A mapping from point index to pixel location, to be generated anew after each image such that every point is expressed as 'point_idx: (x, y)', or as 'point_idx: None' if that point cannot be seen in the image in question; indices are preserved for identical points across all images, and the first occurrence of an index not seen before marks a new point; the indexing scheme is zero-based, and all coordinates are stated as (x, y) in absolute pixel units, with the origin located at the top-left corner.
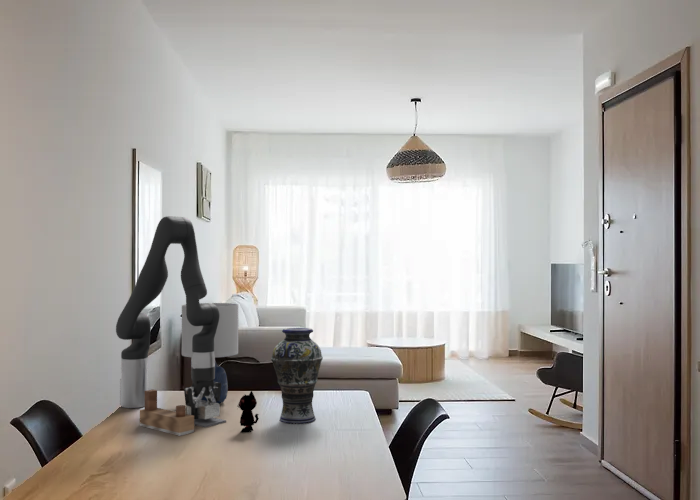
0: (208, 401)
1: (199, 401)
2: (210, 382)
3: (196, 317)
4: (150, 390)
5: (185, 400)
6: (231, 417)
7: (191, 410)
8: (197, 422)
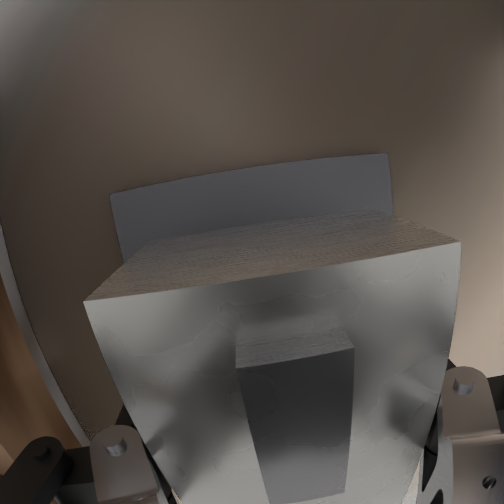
0: (434, 407)
1: (262, 474)
2: None
3: None
4: None
5: (2, 485)
6: (481, 328)
7: (122, 416)
8: None
